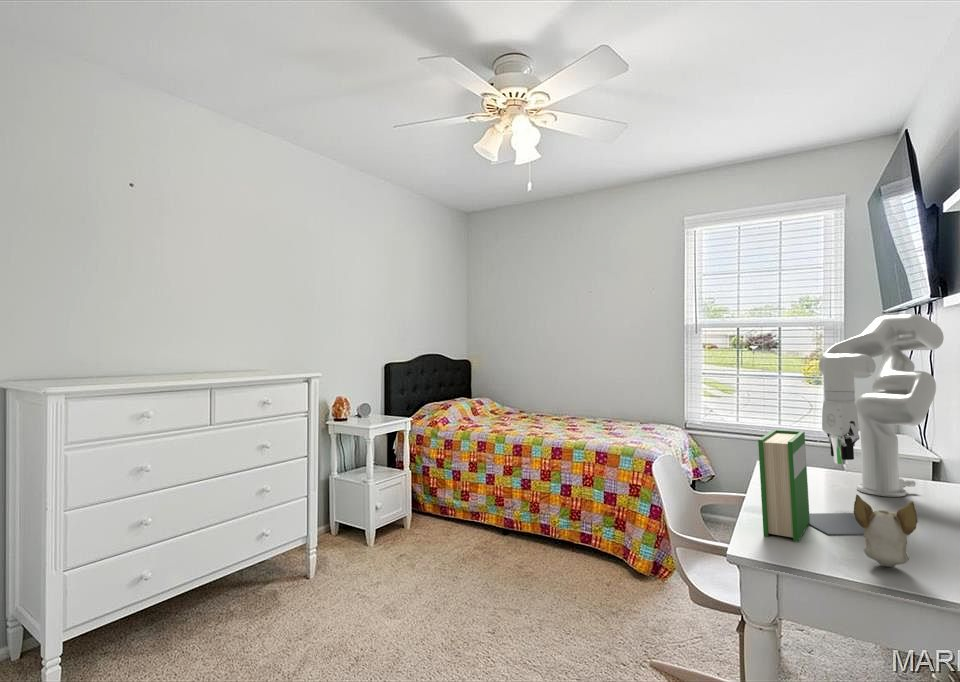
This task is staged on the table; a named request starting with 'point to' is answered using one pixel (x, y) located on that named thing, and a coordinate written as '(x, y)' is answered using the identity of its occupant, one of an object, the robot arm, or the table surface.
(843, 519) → the mouse pad
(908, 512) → the ceramic sculpture
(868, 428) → the robot arm
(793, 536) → the hardback book
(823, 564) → the table surface
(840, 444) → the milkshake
